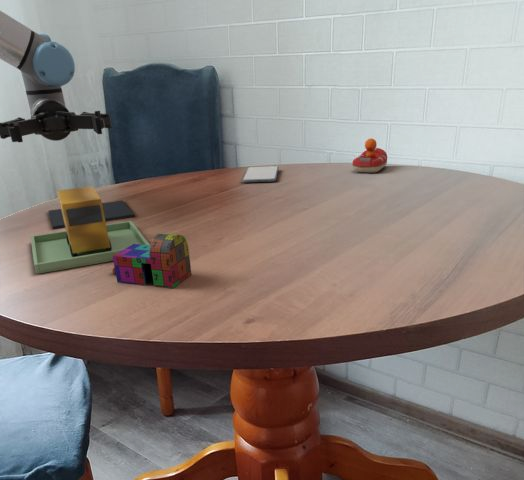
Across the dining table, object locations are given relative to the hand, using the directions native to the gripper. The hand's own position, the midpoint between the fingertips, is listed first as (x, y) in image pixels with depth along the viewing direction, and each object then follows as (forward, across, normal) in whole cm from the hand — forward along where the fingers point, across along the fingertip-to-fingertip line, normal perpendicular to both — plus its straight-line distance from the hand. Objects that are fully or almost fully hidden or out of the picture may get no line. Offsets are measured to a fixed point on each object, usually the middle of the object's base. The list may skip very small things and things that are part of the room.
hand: (59, 129), depth 95 cm
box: (+12, 0, -18) cm, 22 cm away
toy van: (+12, 0, -18) cm, 22 cm away
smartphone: (-26, -48, -18) cm, 57 cm away
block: (+30, -7, -18) cm, 36 cm away
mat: (-12, -3, -18) cm, 22 cm away
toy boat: (-17, -75, -19) cm, 79 cm away
